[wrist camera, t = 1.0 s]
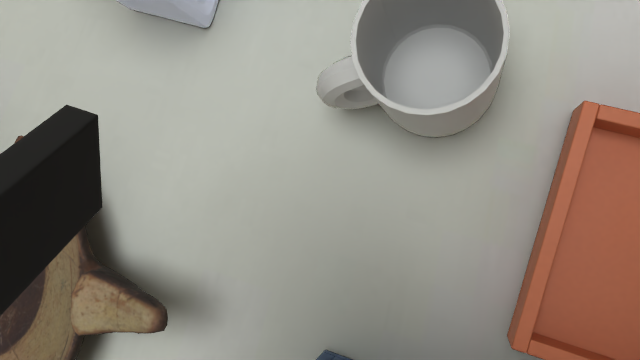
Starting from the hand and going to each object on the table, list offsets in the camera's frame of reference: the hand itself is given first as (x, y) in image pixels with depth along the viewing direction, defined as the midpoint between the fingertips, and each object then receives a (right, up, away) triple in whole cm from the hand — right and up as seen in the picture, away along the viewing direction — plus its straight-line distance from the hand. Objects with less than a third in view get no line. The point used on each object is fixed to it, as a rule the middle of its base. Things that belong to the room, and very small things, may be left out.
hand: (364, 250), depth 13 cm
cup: (+5, +7, +23) cm, 24 cm away
